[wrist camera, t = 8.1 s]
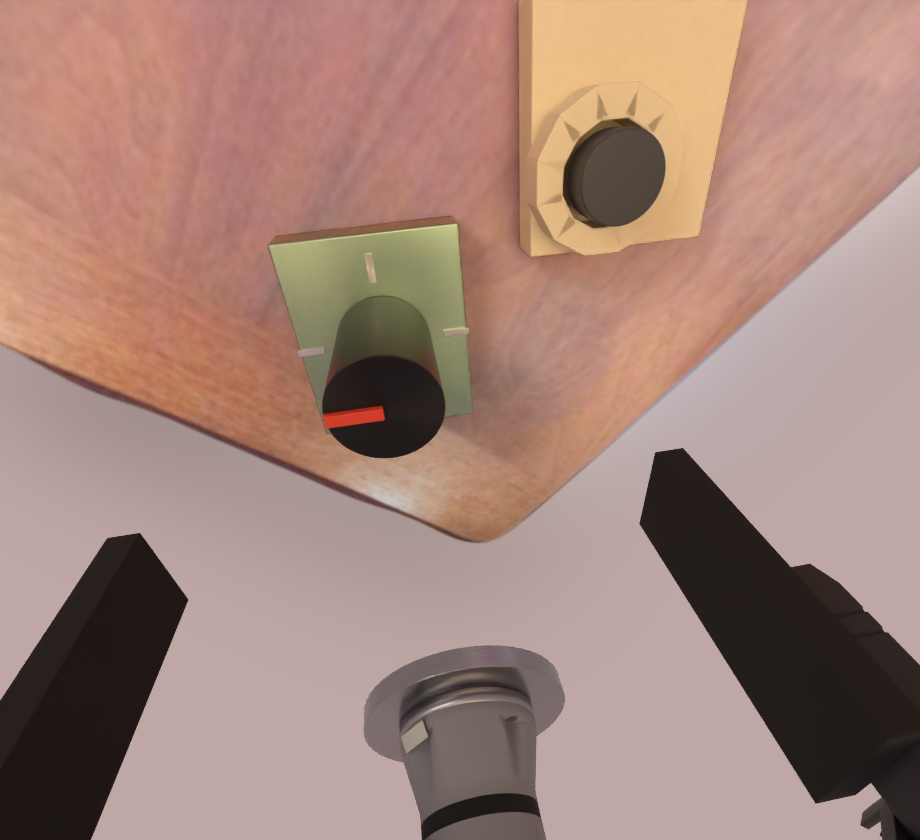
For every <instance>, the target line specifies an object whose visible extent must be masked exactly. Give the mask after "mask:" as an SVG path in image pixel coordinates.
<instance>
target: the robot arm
mask: <svg viewBox="0 0 920 840" xmlns="http://www.w3.org/2000/svg"><path fill="white" fill-rule="evenodd" d="M640 525H641V527H642V529H643V530H644V532H645V533H646V535H647V536H648V538H649V540H650V541H651V543H652V544H653V546H654V547H655V549H656V551H657V552H658V554H659V556H660V557H661V559H662V560H663V562H664V563H665V565H666V567H667V568H668V570H669V571H670V573H671V575H672V576H673V578H674V579H675V581H676V582H677V584H678V586H679V587H680V589H681V590H682V592H683V594H684V595H685V597H686V598H687V600H688V602H689V603H690V605H691V606H692V608H693V610H694V611H695V613H696V614H697V616H698V617H699V619H700V621H701V622H702V624H703V625H704V627H705V628H706V630H707V632H708V633H709V635H710V636H711V638H712V640H713V641H714V643H715V644H716V646H717V648H718V649H719V651H720V652H721V654H722V656H723V657H724V659H725V660H726V662H727V663H728V665H729V666H730V668H731V670H732V671H733V673H734V675H735V676H736V678H737V679H738V681H739V683H740V684H741V686H742V687H743V689H744V690H745V692H746V694H747V695H748V697H749V698H750V700H751V702H752V703H753V705H754V706H755V708H756V709H757V711H758V713H759V714H760V716H761V717H762V719H763V721H764V722H765V724H766V725H767V727H768V729H769V730H770V732H771V733H772V735H773V737H774V738H775V740H776V741H777V743H778V744H779V746H780V748H781V749H782V750H783V752H784V754H785V755H786V757H787V759H788V760H789V762H790V764H791V765H792V767H793V768H794V770H795V771H796V773H797V774H798V776H799V778H800V779H801V781H802V783H803V784H804V786H805V787H806V789H807V791H808V792H809V794H810V795H811V797H812V798H813V800H814V801H815V803H821V802H825V801H830V800H834V799H839V798H843V797H848V796H852V795H856V794H857V793H859V792H860V791H861V790H862V789H864V788H865V787H866V786H867V785H869V784H870V783H872V784H873V786H874V787H875V788H876V790H877V791H878V793H879V794H880V795H881V797H882V798H881V799H879V800H878V801H876V802H875V803H874V804H872V805H871V806H870V807H869V808H867V809H866V810H865V811H864V812H863V814H862V820H861V826H863V827H865V828H867V829H870V828H871V827H873V826H874V825H876V824H877V823H879V822H880V821H881V829H882V831H881V833H880V836H882V840H920V665H919V664H918V663H917V662H916V661H915V660H914V659H913V658H912V657H911V656H910V655H909V654H908V653H907V652H906V651H905V650H904V649H903V648H902V647H901V646H900V645H899V643H897V642H896V640H895V639H894V638H893V637H892V636H891V635H890V634H889V633H886V632H884V631H883V629H882V626H881V625H880V624H879V623H878V622H877V621H876V620H875V619H874V618H873V617H872V616H871V615H870V614H869V613H868V612H865V611H864V610H863V607H862V606H861V605H860V604H859V603H858V602H857V601H856V600H855V599H854V598H853V597H852V596H851V595H850V593H849V592H848V591H847V590H845V589H844V587H843V586H842V585H841V584H840V583H839V582H837V581H835V580H834V579H832V578H831V577H829V576H828V575H826V574H825V573H823V572H822V571H820V570H819V569H817V568H815V567H814V566H812V565H811V564H806V565H801V566H795V567H790V566H789V565H788V564H787V563H786V561H785V560H784V559H783V558H782V557H781V556H780V555H779V554H778V553H777V552H776V550H775V549H774V548H773V547H772V546H771V545H770V544H769V543H768V542H767V540H766V539H765V538H764V537H763V536H762V535H761V534H760V533H759V532H758V531H757V529H756V528H755V527H754V526H753V525H752V524H751V523H750V522H749V521H748V520H747V518H746V517H745V516H744V515H743V514H742V513H741V512H740V511H739V510H738V509H737V507H736V506H735V505H734V504H733V503H732V502H731V501H730V500H729V499H728V497H727V496H726V495H725V494H724V493H723V492H722V491H721V490H720V489H719V488H718V487H717V485H716V484H715V483H714V482H713V481H712V480H711V479H710V478H709V477H708V475H707V474H706V473H705V472H704V471H703V470H702V469H701V468H700V467H699V465H698V464H697V463H696V462H695V461H694V460H693V459H692V458H691V457H690V455H689V454H688V453H687V452H686V451H685V450H684V449H683V448H681V449H675V450H668V451H661V452H656V453H655V456H654V461H653V465H652V470H651V474H650V479H649V483H648V488H647V493H646V497H645V502H644V506H643V511H642V516H641V520H640ZM187 602H188V599H187V597H186V596H185V594H184V593H183V592H182V591H181V589H180V587H179V586H178V585H177V583H176V582H175V581H174V579H173V578H172V577H171V575H170V574H169V572H168V571H167V570H166V568H165V567H164V565H163V564H162V563H161V561H160V560H159V559H158V557H157V556H156V554H155V553H154V552H153V550H152V549H151V547H150V546H149V545H148V543H147V542H146V541H145V539H144V538H143V537H142V535H141V534H140V533H137V534H131V535H125V536H118V537H112V538H107V540H106V541H105V542H104V544H103V545H102V547H101V549H100V550H99V552H98V553H97V555H96V556H95V558H94V559H93V561H92V562H91V564H90V565H89V567H88V568H87V570H86V571H85V573H84V574H83V576H82V577H81V579H80V580H79V582H78V583H77V585H76V586H75V588H74V589H73V591H72V593H71V594H70V596H69V597H68V599H67V600H66V602H65V603H64V605H63V606H62V608H61V609H60V611H59V612H58V614H57V615H56V617H55V618H54V620H53V621H52V623H51V625H50V626H49V627H48V629H47V630H46V632H45V633H44V635H43V637H42V638H41V640H40V641H39V643H38V644H37V646H36V647H35V649H34V650H33V652H32V653H31V655H30V656H29V658H28V659H27V661H26V662H25V664H24V665H23V667H22V668H21V670H20V671H19V673H18V675H17V676H16V678H15V679H14V681H13V682H12V684H11V685H10V687H9V688H8V690H7V691H6V693H5V694H4V696H3V697H2V699H1V700H0V840H91V838H92V836H93V833H94V831H95V828H96V826H97V823H98V821H99V819H100V816H101V814H102V811H103V809H104V806H105V804H106V801H107V799H108V796H109V794H110V791H111V789H112V787H113V784H114V782H115V779H116V777H117V774H118V772H119V769H120V767H121V764H122V762H123V759H124V757H125V754H126V752H127V750H128V747H129V745H130V742H131V740H132V737H133V735H134V732H135V730H136V727H137V725H138V722H139V720H140V718H141V715H142V713H143V710H144V707H145V705H146V703H147V700H148V698H149V695H150V693H151V690H152V688H153V685H154V683H155V680H156V678H157V676H158V673H159V671H160V668H161V666H162V663H163V661H164V658H165V656H166V654H167V651H168V648H169V646H170V644H171V641H172V639H173V636H174V634H175V631H176V629H177V626H178V624H179V621H180V619H181V617H182V614H183V612H184V609H185V606H186V604H187ZM399 733H400V748H401V755H402V758H403V762H404V765H405V768H406V771H407V774H408V777H409V781H410V784H411V786H412V790H413V793H414V796H415V800H416V803H417V806H418V809H419V812H420V818H421V831H422V832H421V833H422V840H546V837H545V832H544V828H543V824H542V820H541V816H540V812H539V807H538V802H537V797H536V791H535V776H536V775H535V774H536V720H535V715H534V711H533V707H532V704H531V702H530V700H529V699H528V698H527V697H526V696H525V695H523V694H522V693H520V692H518V691H515V690H511V689H507V688H502V687H473V688H466V689H460V690H456V691H452V692H448V693H445V694H442V695H439V696H436V697H434V698H432V699H429V700H427V701H425V702H423V703H422V704H420V705H418V706H417V707H415V708H414V709H413V710H412V711H410V712H409V713H408V714H407V715H406V716H405V718H404V719H403V720H402V722H401V724H400V728H399Z"/></svg>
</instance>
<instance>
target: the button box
mask: <svg viewBox="0 0 920 840" xmlns="http://www.w3.org/2000/svg"><path fill="white" fill-rule="evenodd" d="M747 2H748V0H519V171H520V248H522V249H523V250H524V251H525V252H526V253H527V254H528V255H529V256H530V257H536V256H544V255H552V254H561V253H569V252H577V253H579V254H581V255H583V256H589V255H597V254H605V253H613V252H619V251H621V250H622V249H624V248H625V247H627V246H628V245H633V244H641V243H649V242H657V241H665V240H673V239H681V238H689V237H697V236H699V232H700V227H701V222H702V218H703V213H704V208H705V203H706V198H707V194H708V189H709V184H710V179H711V175H712V170H713V165H714V160H715V155H716V151H717V146H718V141H719V136H720V131H721V127H722V122H723V117H724V112H725V107H726V103H727V98H728V93H729V88H730V84H731V79H732V74H733V69H734V64H735V60H736V55H737V50H738V45H739V40H740V36H741V31H742V26H743V21H744V17H745V12H746V7H747ZM609 127H637V128H642V129H645V130H647V131H649V132H650V133H651V134H653V135H654V136H655V137H656V138H657V140H658V141H659V143H660V144H661V146H662V149H663V151H664V155H665V162H666V171H665V178H664V182H663V185H662V188H661V191H660V193H659V195H658V197H657V199H656V200H655V202H654V203H653V205H652V206H651V207H650V208H649V209H648V210H647V211H646V212H645V213H644V214H643V215H642V216H641V217H639V218H638V219H636V220H635V221H633V222H631V223H629V224H626V225H623V226H618V227H609V226H604V225H601V224H599V223H597V222H595V221H593V220H591V219H588V218H586V217H584V216H583V215H581V214H580V213H579V212H578V211H577V210H576V209H575V207H574V206H573V204H572V203H571V200H570V198H569V194H568V187H567V179H568V172H569V167H570V164H571V162H572V159H573V157H574V155H575V153H576V152H577V150H578V149H579V147H580V146H581V145H582V143H583V142H584V141H585V140H586V139H587V138H589V137H590V136H591V135H592V134H594V133H595V132H597V131H599V130H602V129H605V128H609Z"/></svg>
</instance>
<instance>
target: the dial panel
mask: <svg viewBox="0 0 920 840" xmlns="http://www.w3.org/2000/svg"><path fill="white" fill-rule="evenodd" d="M268 248H269V252H270V255H271V258H272V261H273V264H274V268H275V271H276V274H277V277H278V280H279V284H280V287H281V290H282V293H283V296H284V300H285V303H286V306H287V309H288V312H289V316H290V319H291V322H292V325H293V328H294V332H295V335H296V338H297V341H298V344H299V348H300V350H298V355H299V357H303V360H304V364H305V367H306V370H307V373H308V376H309V380H310V383H311V386H312V389H313V392H314V396H315V399H316V402H317V405H318V408H319V412H320V415H321V418H322V421H323V424H324V420H323V413H322V400H323V394H324V390H325V385H326V381H327V376H328V372H329V367H330V363H331V358H332V354H333V349H334V345H335V340H336V336H337V331H338V327H339V324H340V322H341V320H342V318H343V316H344V315H345V314H346V312H347V311H348V310H349V309H350V308H351V307H352V306H354V305H355V304H357V303H358V302H360V301H362V300H365V299H368V298H372V297H378V296H387V297H393V298H397V299H400V300H403V301H405V302H407V303H409V304H410V305H412V306H413V307H414V308H416V309H417V310H418V311H419V312H420V313H421V314H422V316H423V317H424V319H425V320H426V322H427V324H428V327H429V330H430V334H431V338H432V343H433V348H434V352H435V357H436V361H437V366H438V370H439V375H440V379H441V384H442V388H443V393H444V397H445V407H446V409H445V416H444V417H449V416H456V415H463V414H469V413H473V405H472V393H471V380H470V367H469V354H468V342H467V334H469V328H468V327H466V316H465V304H464V291H463V278H462V266H461V253H460V240H459V228H458V223H457V221H456V220H455V219H454V217H453V216H446V217H438V218H429V219H421V220H412V221H403V222H395V223H386V224H378V225H369V226H360V227H352V228H343V229H334V230H326V231H317V232H309V233H300V234H291V235H283V236H276V237H275V238H274V239H273V240H272V241H271V243H270V244H269V245H268ZM324 428H325V431H326V434H331V432H330V431H329V429H326V427H325V424H324Z"/></svg>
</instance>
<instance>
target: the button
mask: <svg viewBox="0 0 920 840" xmlns="http://www.w3.org/2000/svg"><path fill="white" fill-rule="evenodd" d="M665 171H666V162H665V155H664V151H663V149H662V146H661V144H660V143H659V141H658V140H657V138H656V137H655V136H654V135H653V134H651V133H650V132H649V131H647V130H645V129H642V128H637V127H609V128H605V129H602V130H599V131H597V132H595V133H594V134H592V135H591V136H590V137H589V138H587V139H586V140H585V141H584V142H583V143H582V145H581V146H580V147H579V149H578V150H577V152H576V153H575V155H574V157H573V159H572V162H571V164H570V167H569V172H568V179H567V187H568V194H569V198H570V200H571V203H572V204H573V206H574V207H575V209H576V210H577V211H578V212H579V213H580V214H581V215H583V216H584V217H586V218H588V219H591V220H593V221H595V222H597V223H599V224H601V225H604V226H609V227H618V226H623V225H626V224H629V223H631V222H633V221H635V220H636V219H638V218H639V217H641V216H642V215H643V214H644V213H645V212H646V211H647V210H648V209H649V208H650V207H651V206H652V205H653V203H654V202H655V200H656V199H657V197H658V195H659V193H660V191H661V188H662V185H663V182H664V178H665Z"/></svg>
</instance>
